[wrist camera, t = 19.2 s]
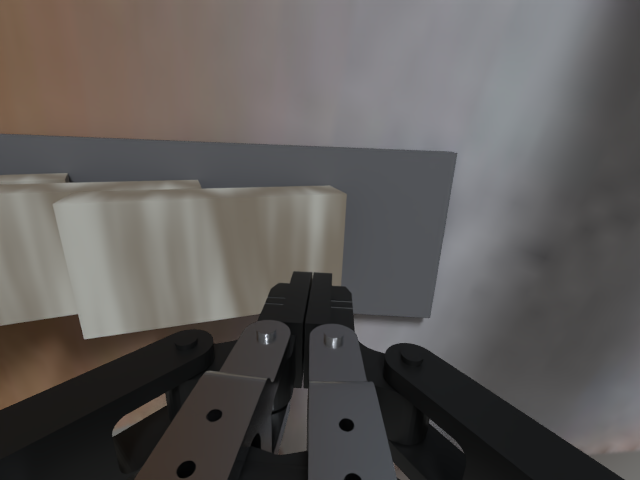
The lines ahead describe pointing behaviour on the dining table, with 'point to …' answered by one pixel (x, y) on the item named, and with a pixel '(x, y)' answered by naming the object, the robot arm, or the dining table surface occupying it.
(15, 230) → the ivory domino
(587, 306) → the dining table surface
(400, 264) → the domino board
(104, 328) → the ivory domino
